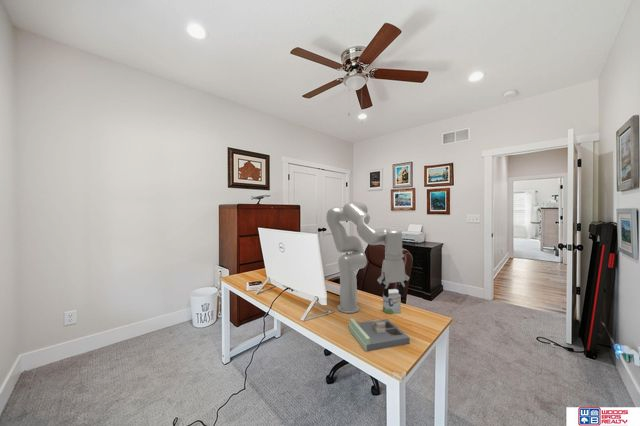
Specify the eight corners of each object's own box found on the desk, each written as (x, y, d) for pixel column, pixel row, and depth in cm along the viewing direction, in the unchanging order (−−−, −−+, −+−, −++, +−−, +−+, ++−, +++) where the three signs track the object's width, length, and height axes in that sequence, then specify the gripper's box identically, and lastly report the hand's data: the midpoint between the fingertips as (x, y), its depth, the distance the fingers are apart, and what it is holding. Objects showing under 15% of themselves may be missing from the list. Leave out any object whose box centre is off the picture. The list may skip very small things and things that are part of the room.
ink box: (396, 309, 135) (396, 288, 135) (401, 312, 130) (401, 291, 130) (382, 310, 134) (382, 289, 134) (386, 314, 129) (386, 292, 129)
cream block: (373, 328, 108) (372, 320, 108) (380, 327, 109) (380, 319, 109) (377, 333, 104) (377, 324, 104) (385, 331, 105) (385, 323, 105)
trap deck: (348, 329, 113) (348, 319, 113) (387, 323, 118) (387, 313, 118) (365, 351, 95) (365, 338, 95) (409, 343, 100) (409, 331, 100)
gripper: (405, 254, 114) (405, 291, 114) (372, 256, 110) (372, 294, 110) (415, 257, 107) (415, 296, 107) (380, 259, 102) (380, 300, 103)
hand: (393, 295), depth 108 cm, fingers open, 7 cm apart
